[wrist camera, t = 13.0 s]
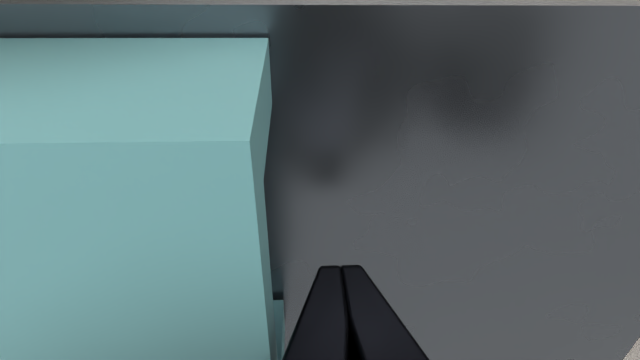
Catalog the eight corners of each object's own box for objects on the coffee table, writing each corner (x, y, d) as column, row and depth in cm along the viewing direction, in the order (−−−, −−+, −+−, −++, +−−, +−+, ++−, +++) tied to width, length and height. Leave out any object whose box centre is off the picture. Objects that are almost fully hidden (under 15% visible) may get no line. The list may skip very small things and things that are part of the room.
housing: (268, 38, 7) (249, 140, 4) (285, 328, 12) (281, 471, 9) (-165, 37, 7) (-496, 149, 4) (26, 336, 11) (-64, 486, 9)
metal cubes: (817, -9, 8) (1174, 65, 5) (561, 389, 17) (627, 517, 14) (-237, -12, 8) (-679, 74, 4) (54, 409, 16) (-11, 550, 13)
